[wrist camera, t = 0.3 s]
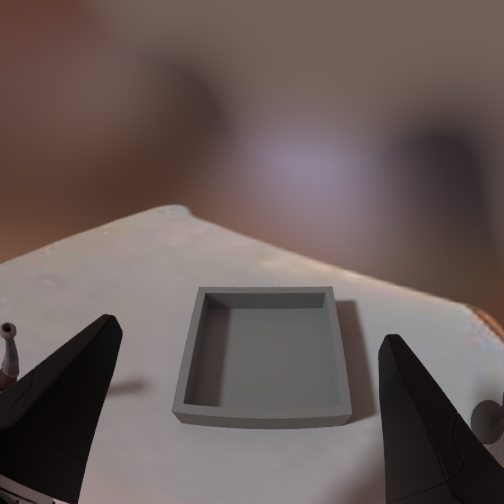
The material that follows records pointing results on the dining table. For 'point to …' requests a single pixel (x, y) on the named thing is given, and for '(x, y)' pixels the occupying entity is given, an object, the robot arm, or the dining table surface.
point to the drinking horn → (9, 357)
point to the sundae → (488, 421)
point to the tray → (263, 360)
